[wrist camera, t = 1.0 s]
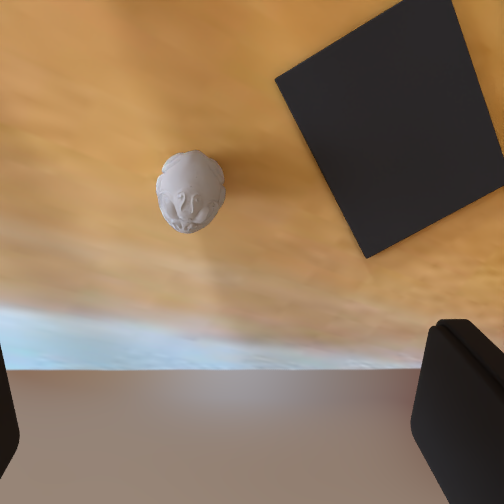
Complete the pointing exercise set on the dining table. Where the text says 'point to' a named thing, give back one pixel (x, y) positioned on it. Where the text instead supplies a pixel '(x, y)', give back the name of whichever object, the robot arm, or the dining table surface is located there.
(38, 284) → the dining table surface
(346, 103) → the mat
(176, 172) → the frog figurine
